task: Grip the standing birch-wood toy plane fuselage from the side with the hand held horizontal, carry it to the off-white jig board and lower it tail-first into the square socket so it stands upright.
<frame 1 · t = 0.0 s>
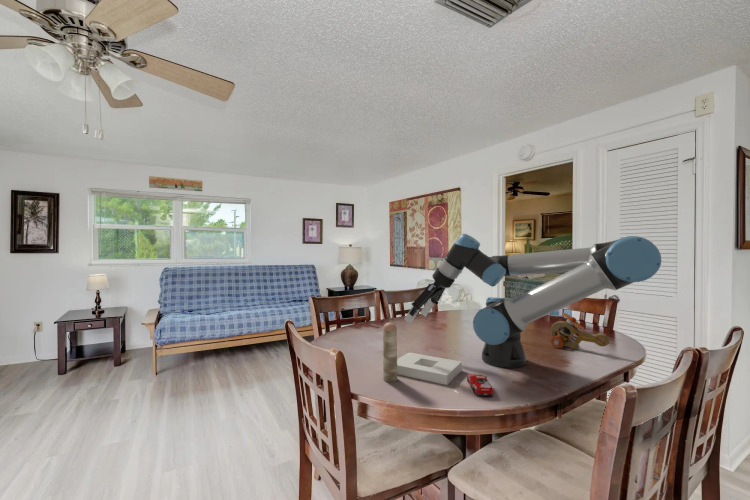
hand: (415, 317, 128), 15 cm above the table, tool tilted 35°, fingers open, 13 cm apart
jig: (426, 371, 114), on the table
race car: (479, 389, 101), on the table
toy helicopter: (576, 350, 135), on the table
fuselage: (390, 379, 108), on the table
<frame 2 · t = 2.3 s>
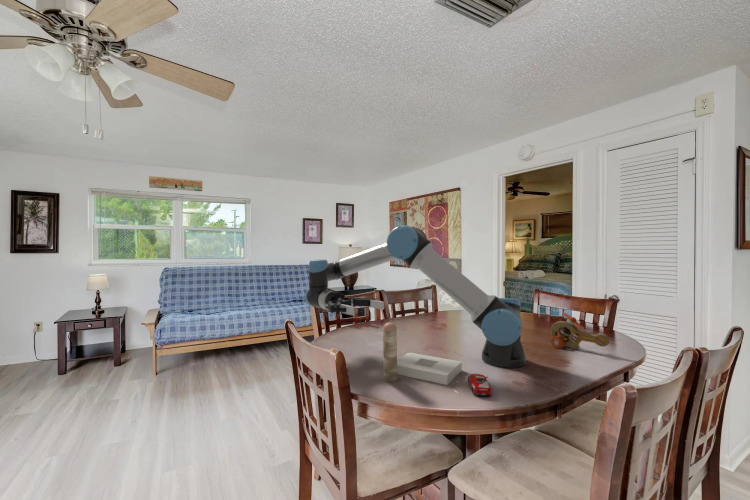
hand: (369, 308, 115), 21 cm above the table, tool horizontal, fingers open, 13 cm apart
nothing on the table moved.
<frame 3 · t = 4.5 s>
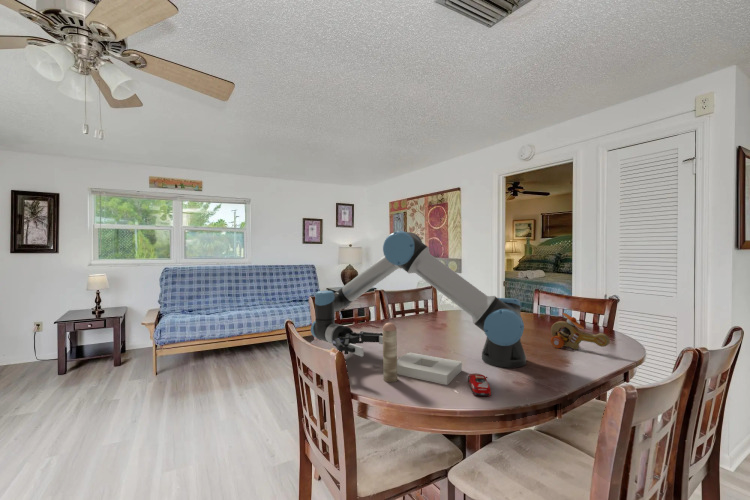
hand: (378, 347, 111), 9 cm above the table, tool horizontal, fingers open, 13 cm apart
nothing on the table moved.
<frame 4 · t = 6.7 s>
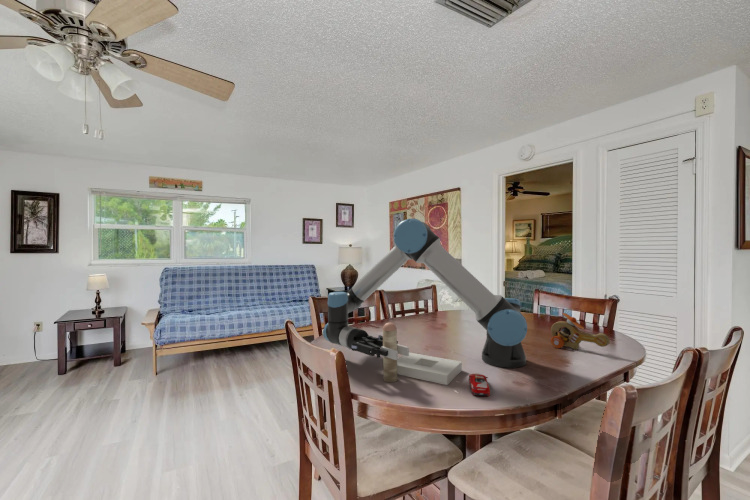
hand: (402, 353, 104), 10 cm above the table, tool horizontal, fingers closed on fuselage, 4 cm apart
fuselage: (390, 379, 108), on the table, touching gripper
everything else where it was.
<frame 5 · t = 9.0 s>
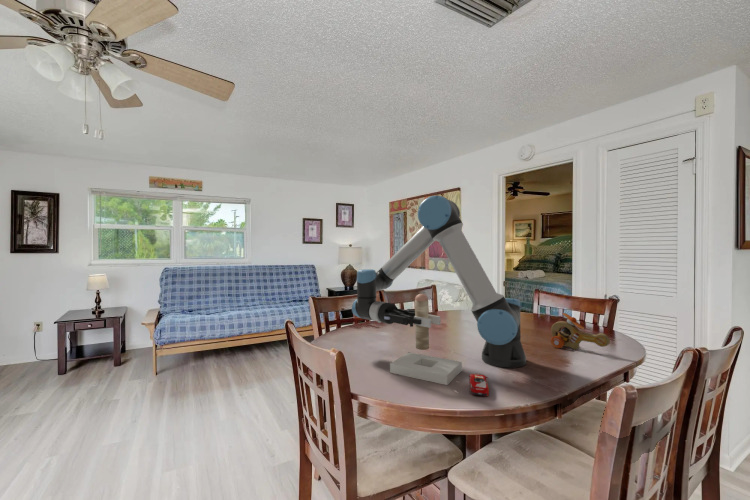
hand: (435, 321, 109), 18 cm above the table, tool horizontal, fingers closed on fuselage, 4 cm apart
fuselage: (422, 347, 113), point 8 cm above the table, touching gripper
everything else where it was.
when the fingers open (11 cm above the table, at t = 11.1 s): fuselage drops 1 cm, resting in jig.
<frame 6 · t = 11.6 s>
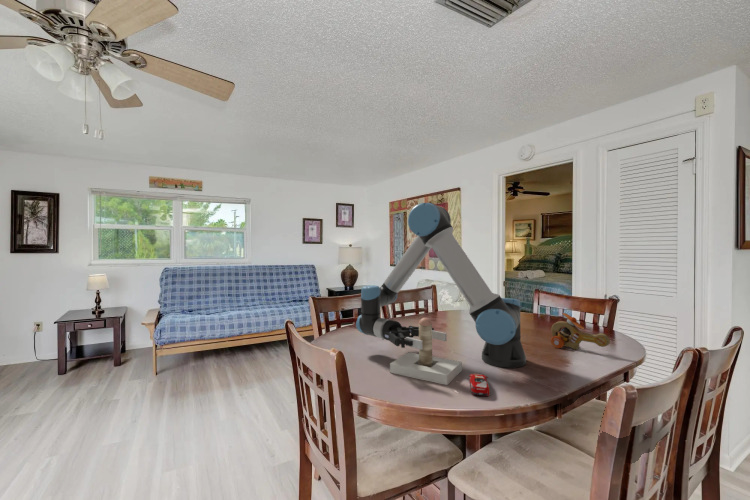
hand: (434, 341, 111), 11 cm above the table, tool horizontal, fingers open, 12 cm apart
fuselage: (425, 371, 114), resting in jig
everything else where it was.
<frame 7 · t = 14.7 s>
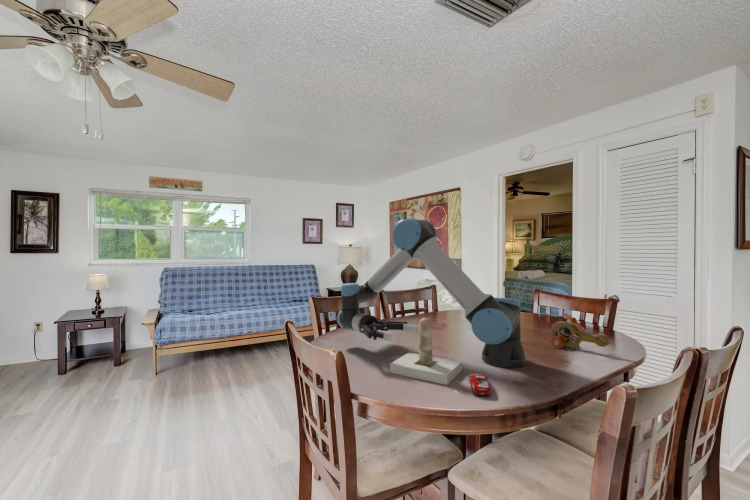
hand: (404, 333, 121), 11 cm above the table, tool horizontal, fingers open, 13 cm apart
nothing on the table moved.
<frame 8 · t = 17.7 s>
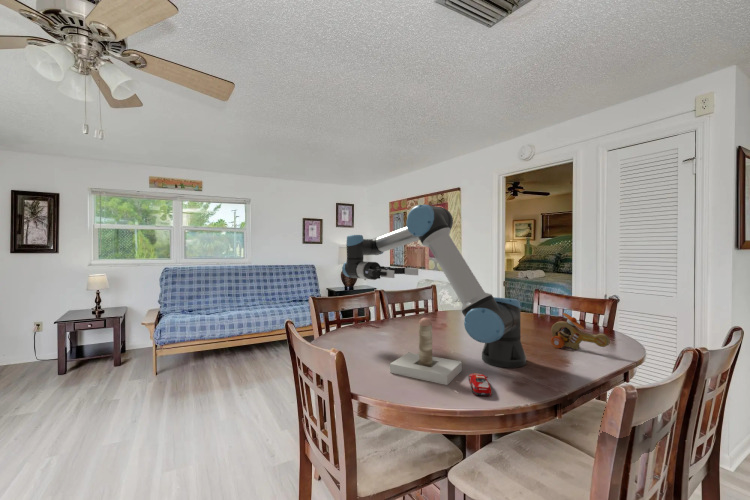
hand: (406, 273, 130), 32 cm above the table, tool horizontal, fingers open, 13 cm apart
nothing on the table moved.
at the end: fuselage 0.1 cm off-centre on the jig, point 0.0 cm above the jig's base; fuselage tilted 0°; the gripper is holding nothing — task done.
